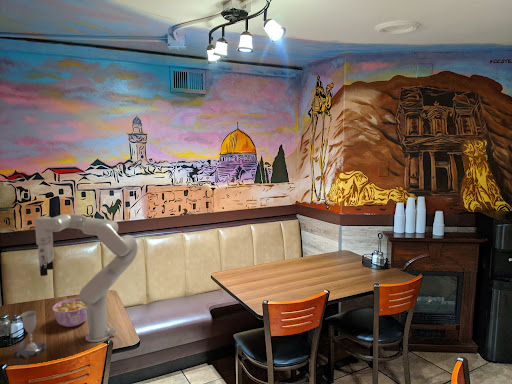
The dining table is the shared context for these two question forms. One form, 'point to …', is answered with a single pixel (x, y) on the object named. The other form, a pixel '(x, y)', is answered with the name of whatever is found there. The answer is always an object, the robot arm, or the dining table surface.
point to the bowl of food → (70, 312)
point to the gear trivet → (27, 354)
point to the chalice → (29, 327)
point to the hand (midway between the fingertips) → (47, 272)
